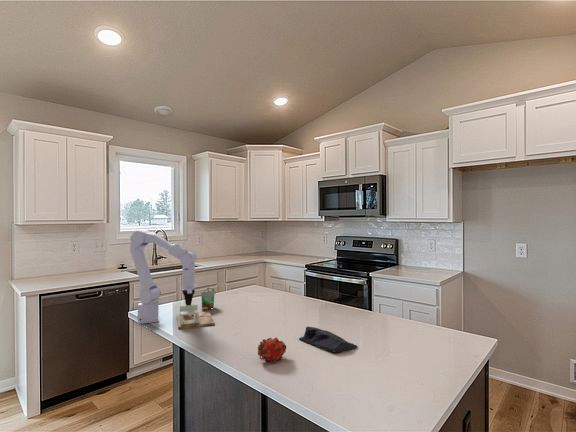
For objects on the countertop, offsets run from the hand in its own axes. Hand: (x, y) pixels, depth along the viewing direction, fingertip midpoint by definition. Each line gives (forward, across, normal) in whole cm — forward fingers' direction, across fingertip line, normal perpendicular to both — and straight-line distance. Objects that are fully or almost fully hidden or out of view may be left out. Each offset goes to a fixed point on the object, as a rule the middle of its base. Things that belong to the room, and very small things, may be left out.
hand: (188, 305), depth 158 cm
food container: (+8, +20, -13) cm, 26 cm away
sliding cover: (+6, -5, 0) cm, 8 cm away
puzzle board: (+8, 0, -3) cm, 8 cm away
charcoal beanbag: (+8, -48, -50) cm, 69 cm away
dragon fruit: (+8, -54, -24) cm, 60 cm away
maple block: (+8, +6, 0) cm, 10 cm away
